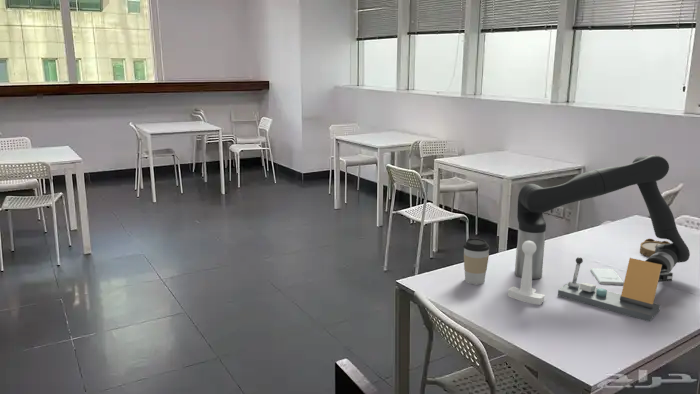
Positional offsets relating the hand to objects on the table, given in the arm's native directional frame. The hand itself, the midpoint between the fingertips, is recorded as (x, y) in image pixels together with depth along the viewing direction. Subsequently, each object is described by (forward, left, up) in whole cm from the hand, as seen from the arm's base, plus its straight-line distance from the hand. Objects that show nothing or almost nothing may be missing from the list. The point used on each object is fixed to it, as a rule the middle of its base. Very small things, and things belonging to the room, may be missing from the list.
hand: (642, 279), depth 173 cm
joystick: (-34, -1, -9) cm, 35 cm away
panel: (-9, +1, -9) cm, 13 cm away
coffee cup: (-51, +10, -9) cm, 53 cm away
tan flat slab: (-2, -4, -6) cm, 7 cm away
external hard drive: (-5, +24, -10) cm, 26 cm away
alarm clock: (+20, +57, -10) cm, 61 cm away
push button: (-11, +2, -7) cm, 13 cm away
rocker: (-15, +4, -6) cm, 17 cm away
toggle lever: (-19, +6, -6) cm, 21 cm away
